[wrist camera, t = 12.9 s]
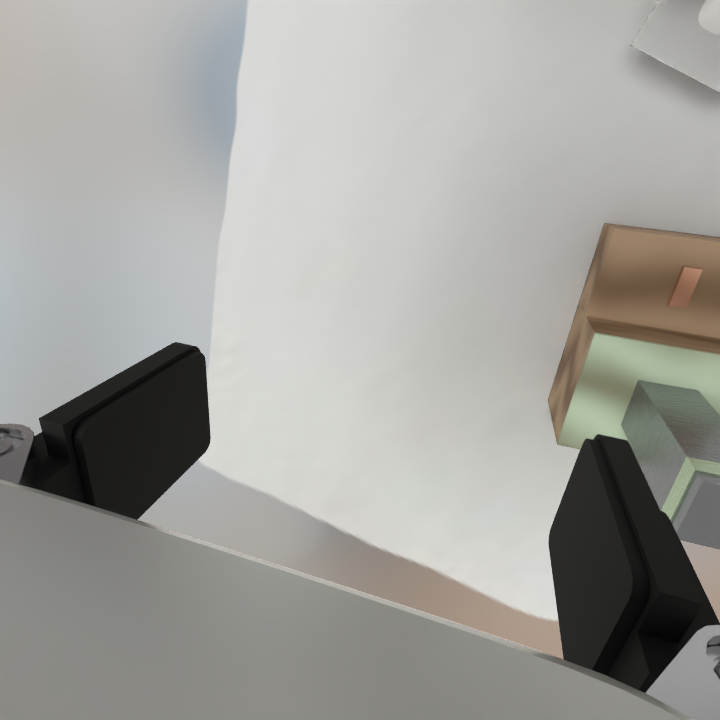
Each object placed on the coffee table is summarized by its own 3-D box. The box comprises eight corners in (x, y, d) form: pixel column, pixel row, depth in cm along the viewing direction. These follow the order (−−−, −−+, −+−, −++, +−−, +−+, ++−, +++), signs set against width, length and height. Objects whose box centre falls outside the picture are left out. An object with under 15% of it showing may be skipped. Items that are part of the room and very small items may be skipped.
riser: (604, 223, 37) (628, 237, 30) (772, 244, 34) (840, 264, 27) (547, 400, 44) (557, 444, 37) (682, 428, 41) (718, 480, 35)
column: (636, 378, 33) (701, 479, 23) (700, 389, 32) (797, 499, 22) (619, 425, 35) (671, 539, 25) (678, 437, 34) (758, 560, 24)
